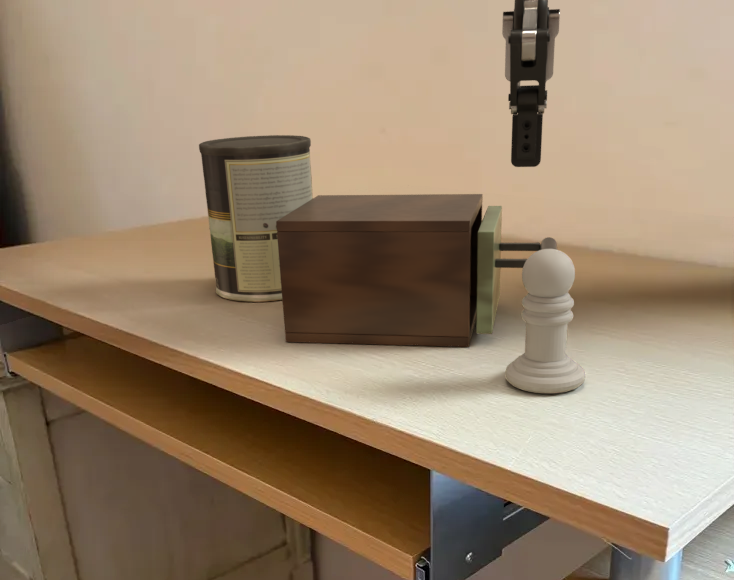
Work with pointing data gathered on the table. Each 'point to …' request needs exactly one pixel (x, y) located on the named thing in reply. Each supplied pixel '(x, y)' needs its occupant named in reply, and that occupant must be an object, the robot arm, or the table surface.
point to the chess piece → (546, 326)
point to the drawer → (495, 265)
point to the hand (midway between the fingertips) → (525, 165)
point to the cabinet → (381, 269)
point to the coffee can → (252, 208)
